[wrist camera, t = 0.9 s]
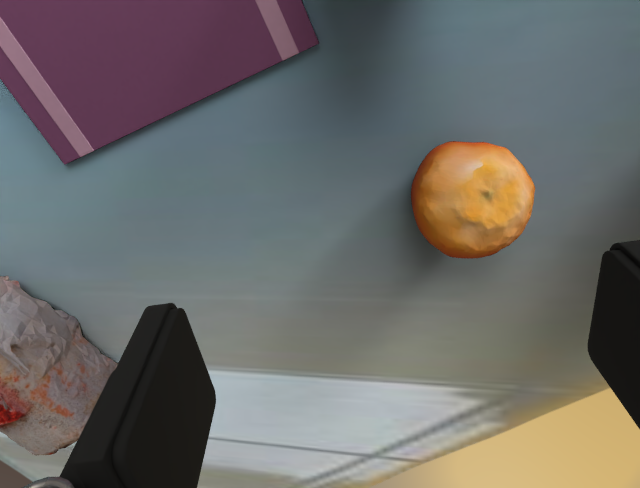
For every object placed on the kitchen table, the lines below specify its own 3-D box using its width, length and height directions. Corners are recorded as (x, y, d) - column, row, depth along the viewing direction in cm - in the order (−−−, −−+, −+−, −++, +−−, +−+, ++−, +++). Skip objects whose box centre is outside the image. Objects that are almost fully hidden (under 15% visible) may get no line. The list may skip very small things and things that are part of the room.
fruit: (388, 250, 37) (419, 250, 29) (401, 150, 37) (436, 122, 29) (487, 264, 38) (544, 267, 30) (499, 166, 38) (559, 143, 30)
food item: (-48, 302, 41) (-143, 391, 32) (11, 255, 38) (-74, 336, 30) (79, 394, 46) (26, 490, 38) (137, 357, 44) (95, 450, 36)
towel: (227, -180, 25) (226, -182, 25) (319, 42, 31) (319, 43, 31) (-61, -8, 29) (-66, -8, 29) (66, 162, 35) (64, 165, 34)
